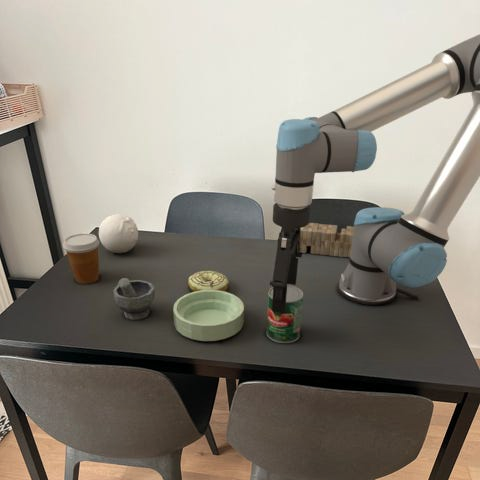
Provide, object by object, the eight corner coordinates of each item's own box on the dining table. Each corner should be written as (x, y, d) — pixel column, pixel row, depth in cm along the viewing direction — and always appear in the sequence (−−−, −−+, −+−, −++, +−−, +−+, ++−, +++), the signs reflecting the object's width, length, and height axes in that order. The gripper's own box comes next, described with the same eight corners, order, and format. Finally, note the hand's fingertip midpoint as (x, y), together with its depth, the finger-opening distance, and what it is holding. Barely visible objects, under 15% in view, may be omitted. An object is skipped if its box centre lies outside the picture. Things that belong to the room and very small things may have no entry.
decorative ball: (130, 261, 143) (125, 224, 136) (94, 257, 145) (88, 220, 139) (146, 246, 153) (142, 210, 146) (112, 242, 155) (107, 207, 149)
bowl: (250, 312, 118) (251, 295, 115) (232, 349, 104) (232, 330, 101) (189, 303, 121) (188, 286, 119) (163, 337, 108) (162, 319, 105)
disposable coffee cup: (63, 284, 130) (54, 244, 123) (81, 269, 137) (74, 231, 131) (94, 288, 128) (87, 247, 121) (110, 273, 136) (104, 234, 129)
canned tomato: (299, 325, 113) (303, 285, 107) (300, 344, 106) (304, 302, 100) (267, 323, 113) (269, 283, 107) (265, 342, 107) (267, 300, 101)
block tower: (292, 254, 150) (385, 261, 144) (293, 229, 146) (389, 236, 140) (295, 245, 157) (385, 251, 151) (296, 221, 152) (389, 226, 146)
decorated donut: (212, 302, 122) (211, 289, 120) (181, 291, 127) (180, 278, 125) (235, 287, 129) (235, 275, 127) (205, 276, 134) (204, 265, 132)
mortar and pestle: (125, 302, 121) (120, 260, 115) (160, 305, 120) (156, 262, 114) (109, 325, 112) (102, 280, 106) (146, 328, 111) (141, 283, 105)
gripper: (285, 185, 104) (279, 271, 115) (259, 222, 84) (254, 322, 95) (319, 188, 102) (309, 275, 114) (300, 227, 82) (291, 328, 93)
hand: (284, 297), depth 104 cm, fingers open, 13 cm apart
